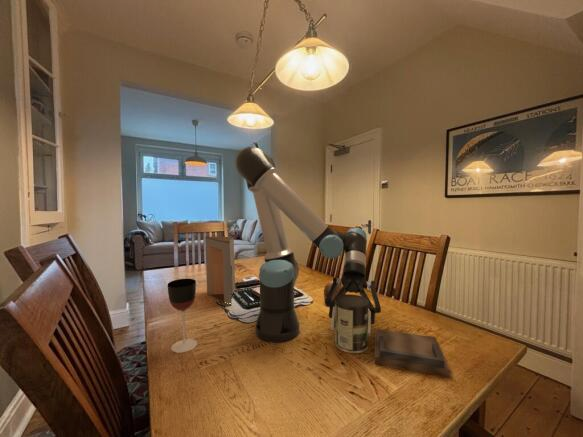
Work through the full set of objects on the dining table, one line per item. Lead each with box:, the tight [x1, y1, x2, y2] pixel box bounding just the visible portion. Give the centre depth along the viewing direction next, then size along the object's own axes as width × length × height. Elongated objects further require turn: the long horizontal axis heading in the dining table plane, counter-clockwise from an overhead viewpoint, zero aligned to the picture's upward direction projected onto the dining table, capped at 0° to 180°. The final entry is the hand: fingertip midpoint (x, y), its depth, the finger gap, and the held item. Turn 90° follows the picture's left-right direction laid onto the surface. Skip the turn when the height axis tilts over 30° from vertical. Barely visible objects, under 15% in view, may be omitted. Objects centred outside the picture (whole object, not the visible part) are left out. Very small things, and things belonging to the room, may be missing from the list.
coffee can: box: [334, 293, 369, 354], centre depth 79 cm, size 10×10×14 cm
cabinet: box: [204, 236, 236, 308], centre depth 119 cm, size 21×10×28 cm, turn 42°
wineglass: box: [167, 278, 198, 354], centre depth 79 cm, size 8×9×20 cm
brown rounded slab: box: [323, 279, 342, 302], centre depth 115 cm, size 15×3×8 cm, turn 148°
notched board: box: [374, 328, 451, 378], centre depth 75 cm, size 18×16×4 cm
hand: (350, 331), depth 77 cm, fingers closed on coffee can, 10 cm apart
